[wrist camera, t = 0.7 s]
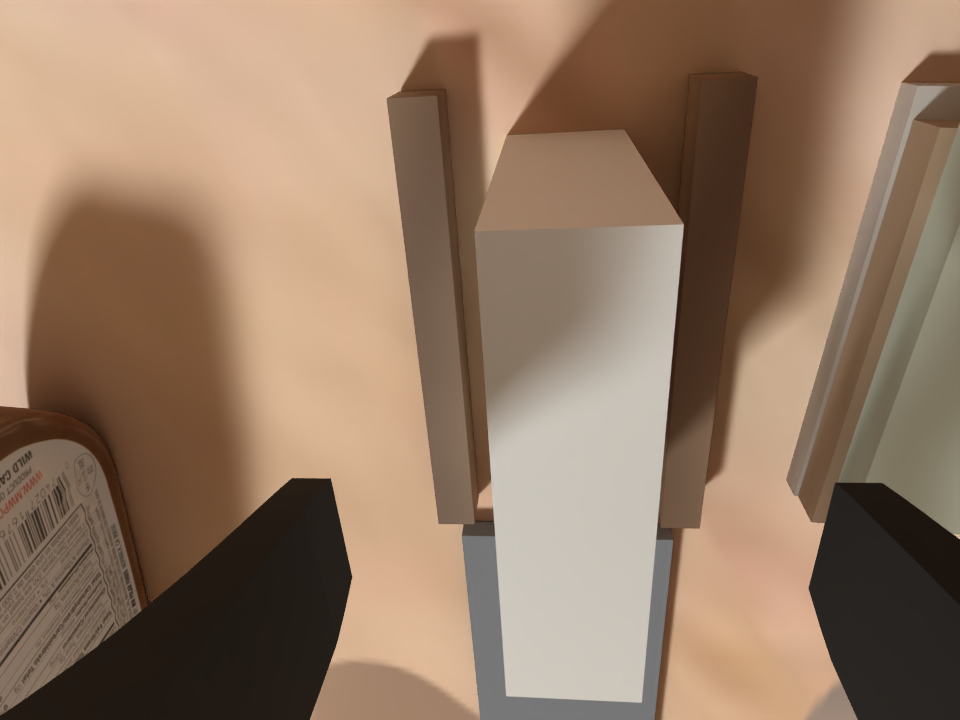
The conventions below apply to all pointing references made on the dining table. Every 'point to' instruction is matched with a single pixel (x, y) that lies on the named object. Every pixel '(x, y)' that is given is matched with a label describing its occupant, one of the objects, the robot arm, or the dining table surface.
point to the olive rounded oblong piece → (896, 328)
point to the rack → (700, 302)
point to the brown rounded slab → (59, 549)
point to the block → (576, 404)
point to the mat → (497, 711)
